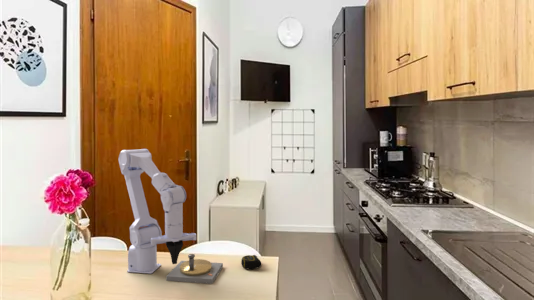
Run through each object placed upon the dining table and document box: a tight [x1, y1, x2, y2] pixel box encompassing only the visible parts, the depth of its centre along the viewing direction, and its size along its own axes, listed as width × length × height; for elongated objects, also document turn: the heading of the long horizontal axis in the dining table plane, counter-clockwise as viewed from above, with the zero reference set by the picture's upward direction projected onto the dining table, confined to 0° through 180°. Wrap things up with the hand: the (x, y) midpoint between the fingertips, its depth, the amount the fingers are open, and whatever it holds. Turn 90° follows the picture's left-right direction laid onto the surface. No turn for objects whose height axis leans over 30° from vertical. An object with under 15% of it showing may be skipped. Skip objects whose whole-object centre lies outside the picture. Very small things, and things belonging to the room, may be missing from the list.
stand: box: [165, 260, 224, 285], centre depth 128 cm, size 16×14×2 cm
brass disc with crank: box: [180, 253, 212, 276], centre depth 127 cm, size 11×11×7 cm
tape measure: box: [240, 254, 262, 270], centre depth 134 cm, size 7×7×4 cm
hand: (174, 263), depth 120 cm, fingers closed
